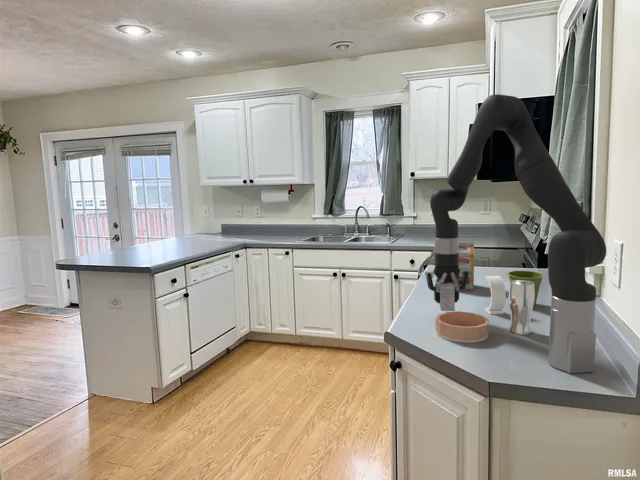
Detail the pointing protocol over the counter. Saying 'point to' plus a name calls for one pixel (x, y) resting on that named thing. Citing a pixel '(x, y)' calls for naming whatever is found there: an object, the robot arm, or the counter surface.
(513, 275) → the plant pot
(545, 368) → the counter surface
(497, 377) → the counter surface
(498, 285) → the headphone stand
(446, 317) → the bowl
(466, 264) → the milk carton
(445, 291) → the medicine box
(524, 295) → the beer glass
